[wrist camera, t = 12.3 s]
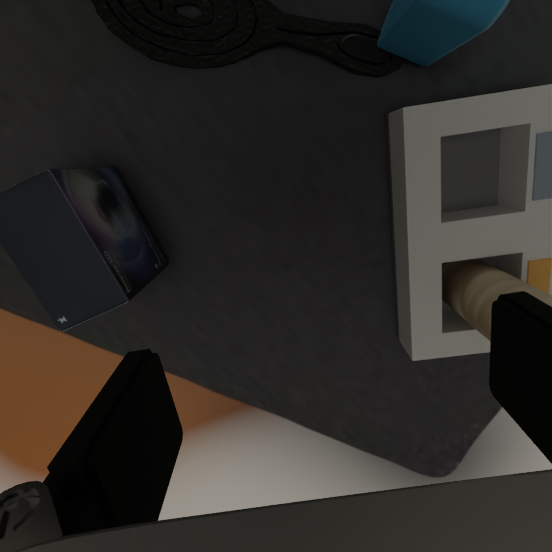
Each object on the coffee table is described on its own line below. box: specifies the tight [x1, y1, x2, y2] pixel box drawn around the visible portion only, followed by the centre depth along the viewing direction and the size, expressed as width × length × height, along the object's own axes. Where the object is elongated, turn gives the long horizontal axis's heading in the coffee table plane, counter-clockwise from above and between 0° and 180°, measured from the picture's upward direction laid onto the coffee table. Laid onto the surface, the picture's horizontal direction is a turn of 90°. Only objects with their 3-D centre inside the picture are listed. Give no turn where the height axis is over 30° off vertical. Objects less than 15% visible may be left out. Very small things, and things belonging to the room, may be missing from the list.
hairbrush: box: [91, 0, 403, 77], centre depth 29 cm, size 8×4×25 cm
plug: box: [442, 258, 552, 342], centre depth 30 cm, size 5×5×12 cm
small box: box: [0, 167, 168, 332], centre depth 31 cm, size 11×6×10 cm, turn 24°
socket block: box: [385, 84, 552, 361], centre depth 33 cm, size 22×12×5 cm, turn 8°
